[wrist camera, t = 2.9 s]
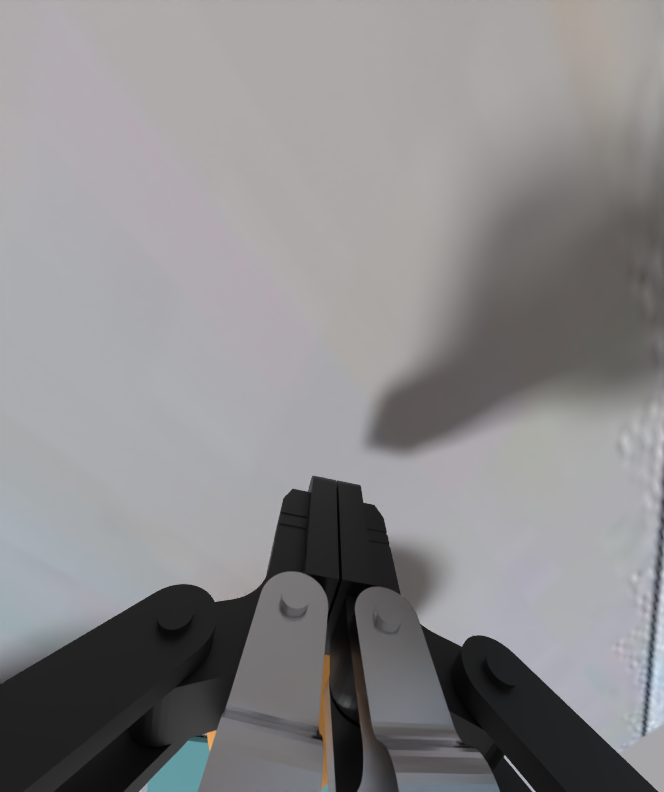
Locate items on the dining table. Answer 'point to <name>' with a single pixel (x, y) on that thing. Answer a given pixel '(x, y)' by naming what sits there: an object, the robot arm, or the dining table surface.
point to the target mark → (185, 769)
